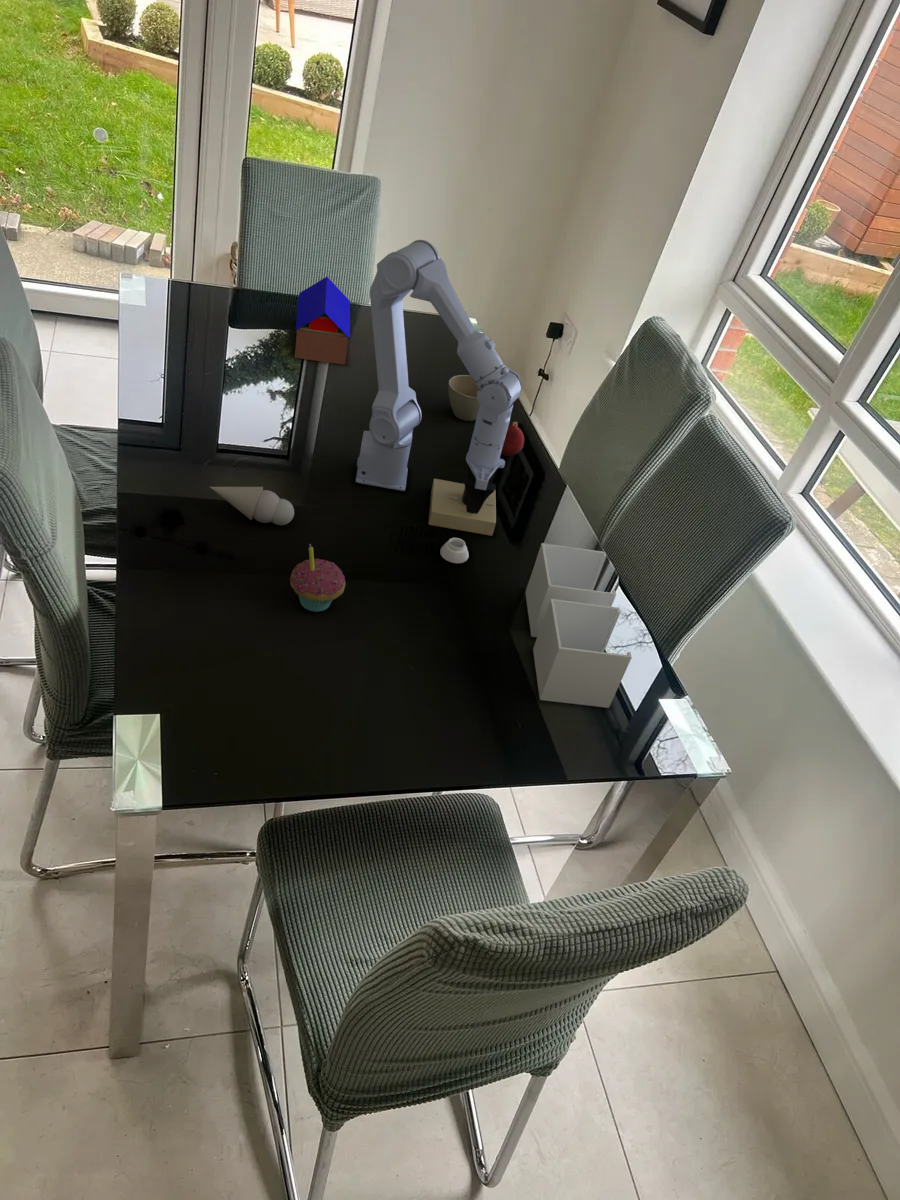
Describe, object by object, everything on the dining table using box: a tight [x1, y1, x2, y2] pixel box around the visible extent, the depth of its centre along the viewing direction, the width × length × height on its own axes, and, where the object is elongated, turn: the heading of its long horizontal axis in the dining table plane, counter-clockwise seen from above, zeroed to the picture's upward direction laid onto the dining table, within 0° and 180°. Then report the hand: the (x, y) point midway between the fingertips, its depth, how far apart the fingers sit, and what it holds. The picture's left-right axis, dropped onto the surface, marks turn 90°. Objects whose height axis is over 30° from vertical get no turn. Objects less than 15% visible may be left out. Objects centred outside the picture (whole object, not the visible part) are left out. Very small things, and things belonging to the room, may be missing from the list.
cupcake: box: [289, 543, 346, 612], centre depth 141 cm, size 9×8×12 cm
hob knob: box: [462, 488, 467, 505], centre depth 168 cm, size 4×4×4 cm
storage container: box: [525, 542, 632, 709], centre depth 145 cm, size 25×11×11 cm, turn 2°
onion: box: [501, 421, 525, 458], centre depth 188 cm, size 6×6×8 cm
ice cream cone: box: [209, 486, 295, 526], centre depth 156 cm, size 6×6×15 cm
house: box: [294, 276, 351, 366], centre depth 209 cm, size 12×20×12 cm, turn 5°
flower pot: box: [447, 374, 480, 422], centre depth 198 cm, size 10×10×7 cm
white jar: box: [439, 537, 470, 564], centre depth 160 cm, size 5×3×5 cm
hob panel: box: [427, 478, 497, 537], centre depth 171 cm, size 12×11×3 cm
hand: (472, 500), depth 170 cm, fingers open, 7 cm apart
